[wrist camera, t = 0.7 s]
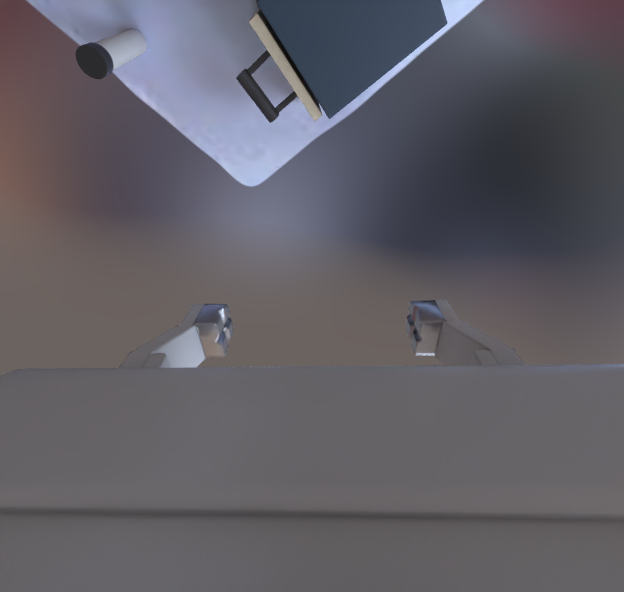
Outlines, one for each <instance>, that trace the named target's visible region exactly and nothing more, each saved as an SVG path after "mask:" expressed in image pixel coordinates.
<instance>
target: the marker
mask: <svg viewBox="0 0 624 592" xmlns="http://www.w3.org/2000/svg"><path fill="white" fill-rule="evenodd" d="M146 50H147V41H146V38H145V37H144V35H143V34H142V33H141V32H140V31H138V30H136V29H130V30H127V31H125V32H122V33H119V34H116V35H114V36H111V37H108V38H105V39H103V40H100V41H97V42H95V43H93V42H91V43H87V44H85V45H82V46H80V47H79V48H78V49H77V51H76V59H77V62H78V64H79V66H80V68H81V69H82V70H83V71H84V72H85V73H86V74H87V75H88V76H90V77H92V78H95V79H102V78H104V77H106V76H107V75H109V74H111V73H112V71H113V70H115V69H117V68H119V67H120V66H122V65H124V64H125V63H127V62H129V61H131V60H132V59H134V58H136V57H138V56H139V55H141V54H143V53H145V52H146Z"/></svg>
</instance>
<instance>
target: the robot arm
mask: <svg viewBox="0 0 624 592" xmlns="http://www.w3.org/2000/svg"><path fill="white" fill-rule="evenodd" d="M408 310H409V312H410V315H409V316H408V317H407V321H406V331H407V335H408V338H410V339H411V340H412V341H411V346H412V349H413V351H414V354H415V355H435V357H436V358H437V359H439V360H440V361H441V362H442V363H443V364H444V365H437V366H436V365H430V366H429V365H428V366H314V367H313V366H310V367H309V366H306V367H305V366H304V367H197V366H198V365H199V364H200V363H201V362H202V361H203V360H205V359H206V358H208V357H225V354H226V352H227V349H228V343H227V342H228V341H230V340H231V338H232V335H233V323H232V320H231V318H229V317H228V316H229V313H230V310H229V306H228V305H227V304H194V305H192V307H191V309H190V310H189V312H188V313H187V315H186V317H185V318H184V320H183V321H182V323H181V325H177V326H175V327H173V328H172V329H170V330H168V331H166V332H164V333H163V334H161V335H159V336H158V337H156V338H154V339H152V340H151V341H149V342H147V343H145V344H144V345H142V346H140V347H138V348H137V349H135V350H133V351H131V352H130V353H129V354H128V355H127V357H126V358H125V359H124V361H123V362H122V364H121V365H120V366H119V368H66V369H65V368H61V369H60V368H58V369H42V368H26V369H17V370H14V371H11V372H8V373H6V374H3V375H0V592H624V364H568V365H567V364H563V365H562V364H559V365H526V364H525V363H524V362H523V360H522V359H521V358H520V357H519V355H518V354H517V353H516V351H515V350H514V349H513V348H511V347H509V346H508V345H506V344H504V343H502V342H500V341H498V340H496V339H495V338H493V337H491V336H489V335H487V334H485V333H484V332H482V331H480V330H478V329H476V328H474V327H473V326H471V325H469V324H467V323H465V322H462V321H459V320H458V318H457V316H456V315H455V313H454V312H453V310H452V308H451V307H450V305H449V303H448V302H447V301H446V300H433V301H410V303H409V308H408Z"/></svg>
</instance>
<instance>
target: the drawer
mask: <svg viewBox="0 0 624 592" xmlns="http://www.w3.org/2000/svg"><path fill="white" fill-rule="evenodd" d="M249 23H250V25H251V26H252V28H253V29H254V31H255V32H256V34H257V35H258V37H259V38H260V40H261V41H262V43H263V45H264V46H265V48H266V49H267V50H266V51H265V52H264V53H263V54H262V55H261V56H260V57H259V58H258V59H257V60H256V61H255V62H254V63H253V64H252V65H251V66H250V67H249V68H248V70H247V69H244V70H243V71H242V72H241V73H240V74H239V75H238V76H237V78H236V79H237V80H238V82H239V83H240V84H241V85H242V87H243V88H244V89H245V91H246V92H247V93H248V95H249V96H250V97H251V99H252V100H253V101H254V102H255V104H256V105H257V106H258V108H259V109H260V110H261V112H262V113H263V114H264V116H265V117H266V118H267V119H268V121H269V122H270V123H271V122H273V121H274V120H275V119H276V118H277V117H278V115H279V112H280V111H281V110H282V109H284V108H285V107H286V106H287V105H288V104H289V103H290V102H291V101H293V100H294V99H295V98H296V97H297V96H298V97H299V99H300V100H301V102H302V103H303V105H304V106H305V108H306V109H307V111H308V112H309V114H310V115H311V117H312V118H313V120H314V121H316V120H317V119H318V118H320V117H321V116H322V113H321V109H320V106H319V103H318V100H317V99H316V97H315V95H314V94H313V92H312V91H311V89H310V87H309V86H308V84H307V83H306V81H305V79H304V78H303V76H302V75H301V73H300V71H299V70H298V68H297V67H296V65H295V63H294V62H293V60H292V59H291V57H290V55H289V54H288V52H287V51H286V49H285V47H284V46H283V44H282V43H281V41H280V39H279V38H278V36H277V35H276V33H275V31H274V30H273V28H272V27H271V25H270V23H269V22H268V20H267V19H266V17H265V15H264V14H263V12H262V11H261V9H260V8H259V9H258V10H257V11H256V12H255V13H254V15H253V16H252V18H251V19H250V21H249ZM270 56H271V57H272V58H273V60H274V61H275V63H276V64H277V66H278V67H279V69H280V70H281V72H282V73H283V75H284V76H285V78H286V79H287V81H288V82H289V84H290V85H291V87H292V88H293V90H294V91H293V92H292V93H291V94H290V95H289V96H288V97H287V98H286V99H285V100H283V101H282V102H281V103H280V104H279V105H278V106H277V107H276V108H275V107H274V106H273V105H272V103H271V102H270V101H269V99H268V98H267V96H266V95H265V94H264V92H263V91H262V90H261V88H260V87H259V86H258V84H257V83H256V81H255V80H254V79H253V77H252V76H251V75H252V74H253V73H254V72H255V71H256V70H257V69H258V68H259V67H260V66H261V65H262V64H263V63H264V62H265V61H266V60H267V59H268V58H269V57H270Z"/></svg>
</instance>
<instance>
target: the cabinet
mask: <svg viewBox="0 0 624 592" xmlns="http://www.w3.org/2000/svg"><path fill="white" fill-rule="evenodd" d="M257 4H258V6H259V7H260V9H261V11H262V12H263V14H264V15H265V17H266V19H267V20H268V22H269V23H270V25H271V27H272V28H273V30H274V31H275V33H276V35H277V36H278V38H279V39H280V41H281V43H282V44H283V46H284V47H285V49H286V51H287V52H288V54H289V55H290V57H291V59H292V60H293V62H294V63H295V65H296V67H297V68H298V70H299V71H300V73H301V75H302V76H303V78H304V79H305V81H306V83H307V84H308V86H309V87H310V89H311V91H312V92H313V94H314V95H315V97H316V99H317V100H318V102H319V103H320V105H321V107H322V108H323V110H324V111H325V113H326V115H327V116H328V118H329V119H330V118H331V117H333V116H334V115H335V114H336V113H338V112H339V111H340V110H341V109H343V108H344V107H345V106H346V105H347V104H349V103H350V102H351V101H352V100H354V99H355V98H356V97H357V96H359V95H360V94H361V93H362V92H364V91H365V90H366V89H367V88H368V87H370V86H371V85H372V84H373V83H375V82H376V81H377V80H378V79H380V78H381V77H382V76H383V75H385V74H386V73H387V72H388V71H389V70H391V69H392V68H393V67H394V66H396V65H397V64H398V63H399V62H401V61H402V60H403V59H404V58H406V57H407V56H408V55H409V54H411V53H412V52H413V51H414V50H415V49H417V48H418V47H419V46H420V45H422V44H423V43H424V42H425V41H427V40H428V39H429V38H430V37H432V36H433V35H434V34H435V33H436V32H438V31H439V30H440V29H441V28H443V27H444V26H445V25H446V24H447V20H446V17H445V13H444V10H443V7H442V3H441V0H258V1H257Z"/></svg>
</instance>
